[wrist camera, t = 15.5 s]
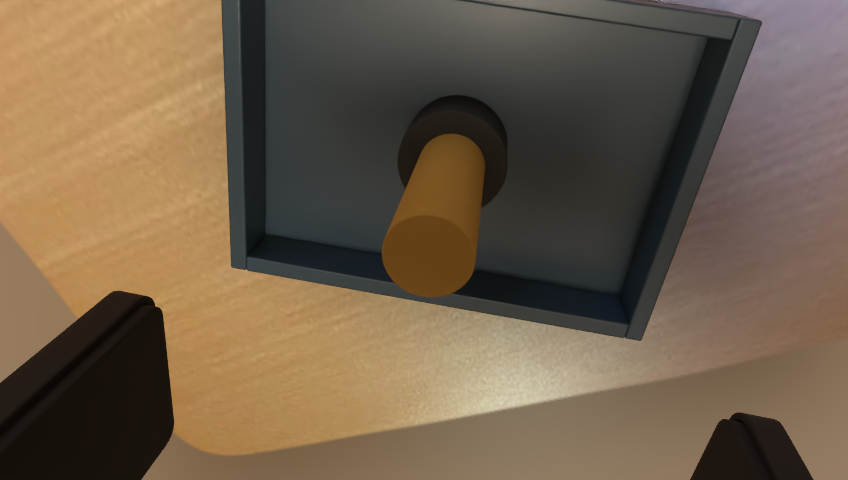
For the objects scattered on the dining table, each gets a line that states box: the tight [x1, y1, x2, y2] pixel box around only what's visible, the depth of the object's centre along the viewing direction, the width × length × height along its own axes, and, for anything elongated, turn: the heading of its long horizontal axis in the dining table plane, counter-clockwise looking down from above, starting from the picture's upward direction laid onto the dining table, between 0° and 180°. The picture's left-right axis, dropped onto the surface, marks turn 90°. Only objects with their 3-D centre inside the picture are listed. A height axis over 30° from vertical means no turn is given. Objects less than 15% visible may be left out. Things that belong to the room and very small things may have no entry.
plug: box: [382, 95, 508, 297], centre depth 18 cm, size 4×4×10 cm
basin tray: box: [221, 0, 762, 341], centre depth 22 cm, size 17×12×3 cm
